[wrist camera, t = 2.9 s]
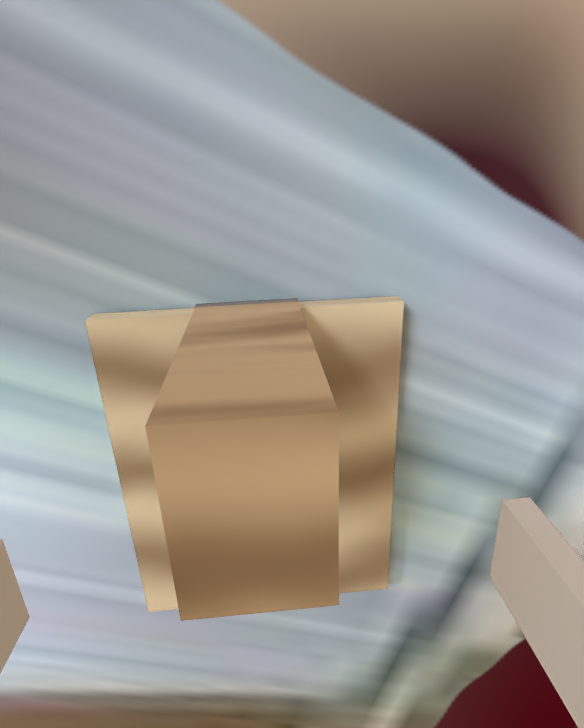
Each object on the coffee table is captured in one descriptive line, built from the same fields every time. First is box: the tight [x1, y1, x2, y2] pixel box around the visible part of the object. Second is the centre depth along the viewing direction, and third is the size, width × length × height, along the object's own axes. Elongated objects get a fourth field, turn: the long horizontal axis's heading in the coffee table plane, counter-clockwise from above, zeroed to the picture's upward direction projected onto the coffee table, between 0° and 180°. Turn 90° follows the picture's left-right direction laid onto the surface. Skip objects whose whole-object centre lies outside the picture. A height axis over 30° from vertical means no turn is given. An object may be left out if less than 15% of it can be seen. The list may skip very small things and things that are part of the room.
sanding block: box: [145, 298, 339, 621], centre depth 19 cm, size 7×5×12 cm
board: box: [85, 296, 404, 612], centre depth 28 cm, size 20×16×1 cm
